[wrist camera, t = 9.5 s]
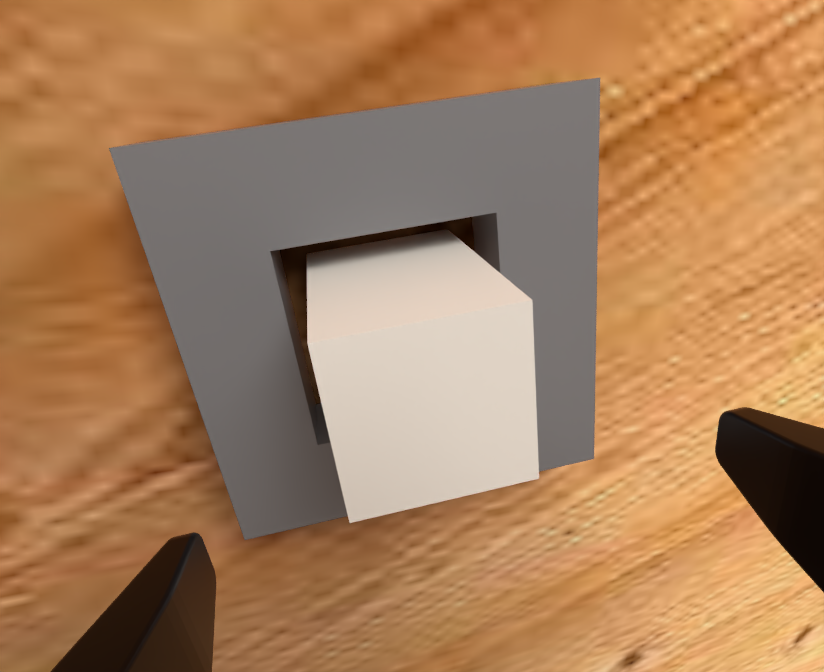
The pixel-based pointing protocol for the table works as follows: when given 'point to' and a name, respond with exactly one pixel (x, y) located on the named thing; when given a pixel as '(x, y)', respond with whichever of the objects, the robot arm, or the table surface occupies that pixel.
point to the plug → (421, 372)
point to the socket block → (355, 216)
